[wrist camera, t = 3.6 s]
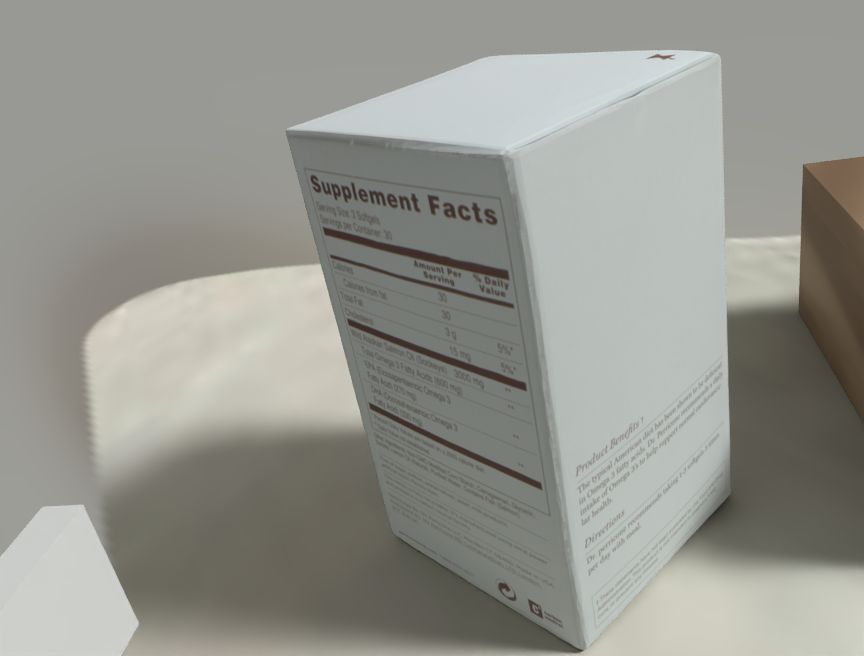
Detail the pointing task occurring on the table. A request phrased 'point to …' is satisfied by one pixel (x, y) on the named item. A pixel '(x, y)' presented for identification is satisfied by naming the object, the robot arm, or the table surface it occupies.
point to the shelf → (835, 267)
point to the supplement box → (535, 316)
